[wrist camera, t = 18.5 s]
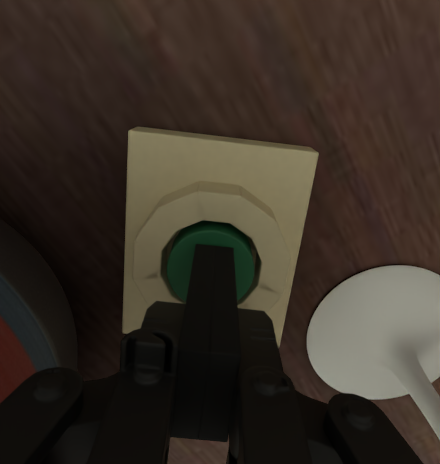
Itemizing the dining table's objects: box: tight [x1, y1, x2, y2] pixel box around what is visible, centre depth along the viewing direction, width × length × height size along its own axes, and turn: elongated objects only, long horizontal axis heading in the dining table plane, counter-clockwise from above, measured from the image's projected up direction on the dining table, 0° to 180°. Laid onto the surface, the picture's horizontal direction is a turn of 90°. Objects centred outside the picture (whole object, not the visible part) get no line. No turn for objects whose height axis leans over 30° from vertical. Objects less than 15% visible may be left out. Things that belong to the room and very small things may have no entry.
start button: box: [167, 220, 254, 302], centre depth 16 cm, size 4×4×2 cm
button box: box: [122, 126, 319, 348], centre depth 18 cm, size 10×8×4 cm
